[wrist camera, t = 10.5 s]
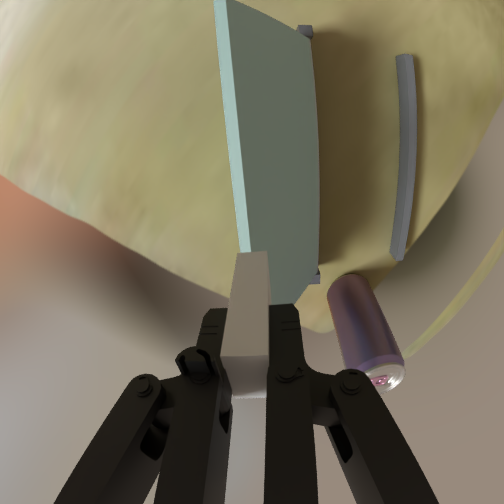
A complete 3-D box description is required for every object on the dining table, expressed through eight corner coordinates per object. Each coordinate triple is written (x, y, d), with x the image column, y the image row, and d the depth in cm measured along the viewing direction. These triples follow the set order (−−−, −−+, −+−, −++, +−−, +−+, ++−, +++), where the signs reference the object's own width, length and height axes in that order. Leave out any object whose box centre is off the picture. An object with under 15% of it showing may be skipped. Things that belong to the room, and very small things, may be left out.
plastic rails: (294, 35, 20) (298, 24, 17) (401, 47, 19) (417, 41, 16) (305, 267, 33) (309, 284, 30) (394, 261, 32) (405, 276, 29)
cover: (311, 40, 18) (302, 41, 18) (225, -4, 9) (211, 1, 9) (318, 269, 30) (311, 267, 30) (260, 348, 21) (251, 344, 21)
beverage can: (328, 272, 33) (358, 368, 20) (372, 271, 33) (416, 359, 20) (323, 308, 36) (343, 402, 23) (363, 306, 36) (395, 393, 23)
